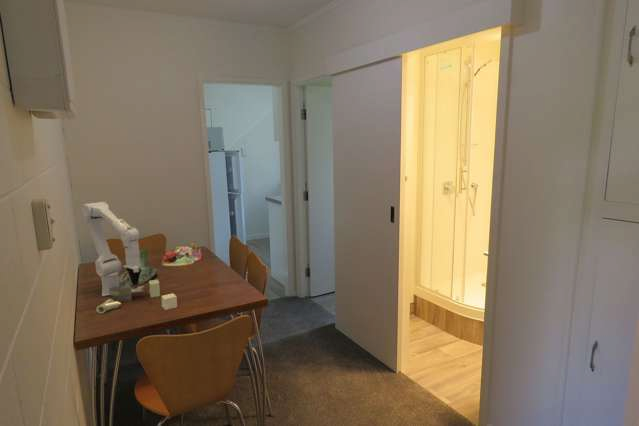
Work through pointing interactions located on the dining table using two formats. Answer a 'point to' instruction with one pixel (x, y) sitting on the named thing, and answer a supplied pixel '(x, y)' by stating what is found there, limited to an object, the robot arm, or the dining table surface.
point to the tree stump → (144, 275)
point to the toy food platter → (182, 256)
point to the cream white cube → (169, 301)
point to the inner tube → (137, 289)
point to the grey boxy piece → (121, 293)
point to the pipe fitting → (108, 306)
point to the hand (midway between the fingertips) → (134, 283)
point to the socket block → (154, 288)
